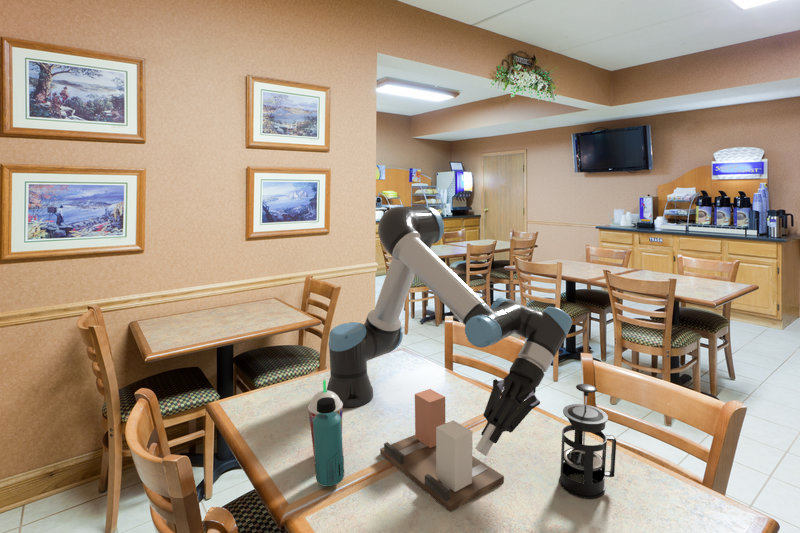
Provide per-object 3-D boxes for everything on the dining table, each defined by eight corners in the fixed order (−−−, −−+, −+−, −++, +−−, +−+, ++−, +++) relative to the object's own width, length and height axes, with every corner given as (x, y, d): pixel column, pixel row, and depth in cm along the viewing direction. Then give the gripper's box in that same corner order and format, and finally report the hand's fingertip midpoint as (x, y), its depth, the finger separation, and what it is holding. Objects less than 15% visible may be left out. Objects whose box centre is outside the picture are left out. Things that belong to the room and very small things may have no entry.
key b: (430, 431, 118) (430, 388, 116) (445, 441, 113) (445, 396, 111) (415, 437, 115) (414, 393, 113) (430, 448, 110) (429, 402, 109)
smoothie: (350, 451, 113) (347, 376, 110) (335, 470, 106) (331, 389, 102) (321, 445, 116) (317, 372, 113) (304, 463, 108) (300, 385, 105)
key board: (429, 433, 121) (429, 421, 120) (503, 482, 100) (504, 467, 99) (380, 454, 112) (380, 441, 111) (450, 512, 91) (450, 496, 90)
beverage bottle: (342, 493, 97) (339, 406, 94) (312, 493, 97) (307, 407, 94) (346, 474, 104) (343, 393, 101) (318, 474, 104) (314, 393, 101)
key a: (453, 469, 102) (453, 420, 100) (472, 482, 97) (472, 431, 95) (436, 477, 99) (436, 427, 97) (454, 492, 94) (454, 438, 92)
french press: (560, 497, 95) (565, 394, 91) (552, 470, 104) (555, 376, 100) (619, 501, 93) (626, 397, 89) (605, 474, 102) (611, 378, 99)
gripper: (560, 381, 104) (510, 473, 98) (516, 365, 115) (469, 446, 108) (546, 365, 101) (493, 459, 94) (503, 349, 111) (452, 433, 104)
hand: (480, 452), depth 101 cm, fingers closed
